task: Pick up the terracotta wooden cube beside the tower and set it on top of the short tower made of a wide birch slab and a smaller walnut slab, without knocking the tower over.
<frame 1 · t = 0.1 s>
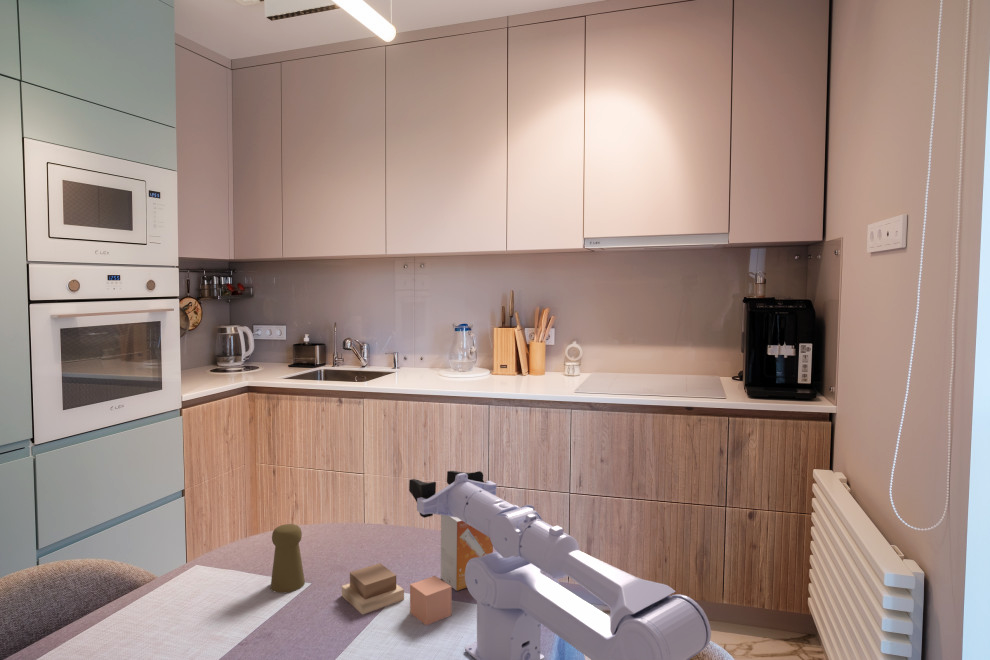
hand: (430, 480, 103), 22 cm above the table, tool horizontal, fingers open, 7 cm apart
walnut top slab: (372, 587, 106), point 2 cm above the table, touching birch base slab
birch base slab: (372, 601, 106), on the table, touching walnut top slab
small box: (466, 580, 113), on the table
olive game pawn: (287, 585, 111), on the table
terracotta cube: (430, 614, 101), on the table
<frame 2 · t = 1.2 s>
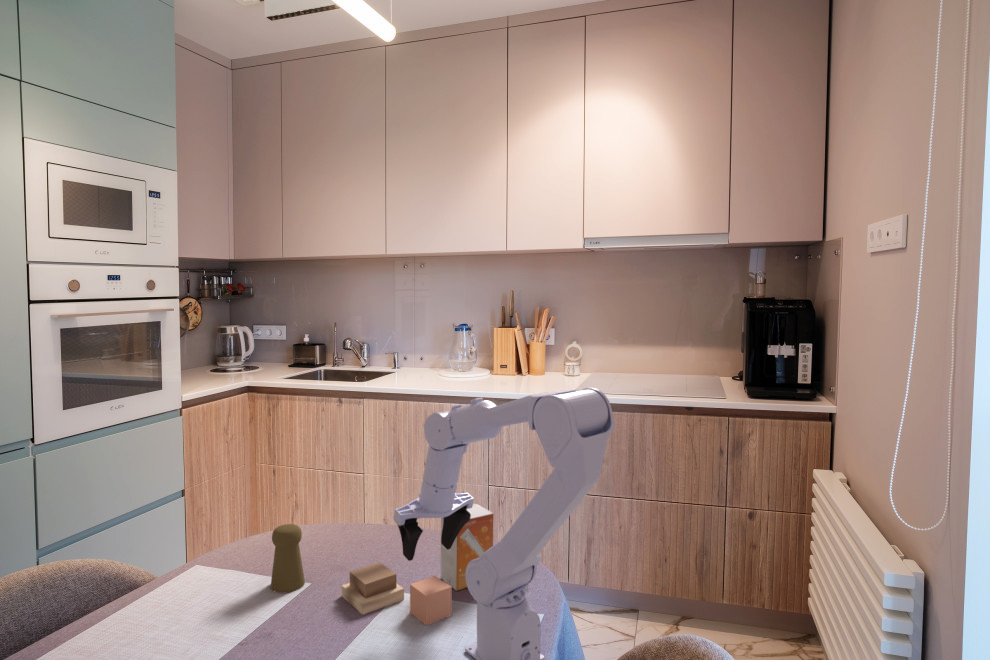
hand: (427, 551, 101), 10 cm above the table, tool pointing down, fingers open, 7 cm apart
nothing on the table moved.
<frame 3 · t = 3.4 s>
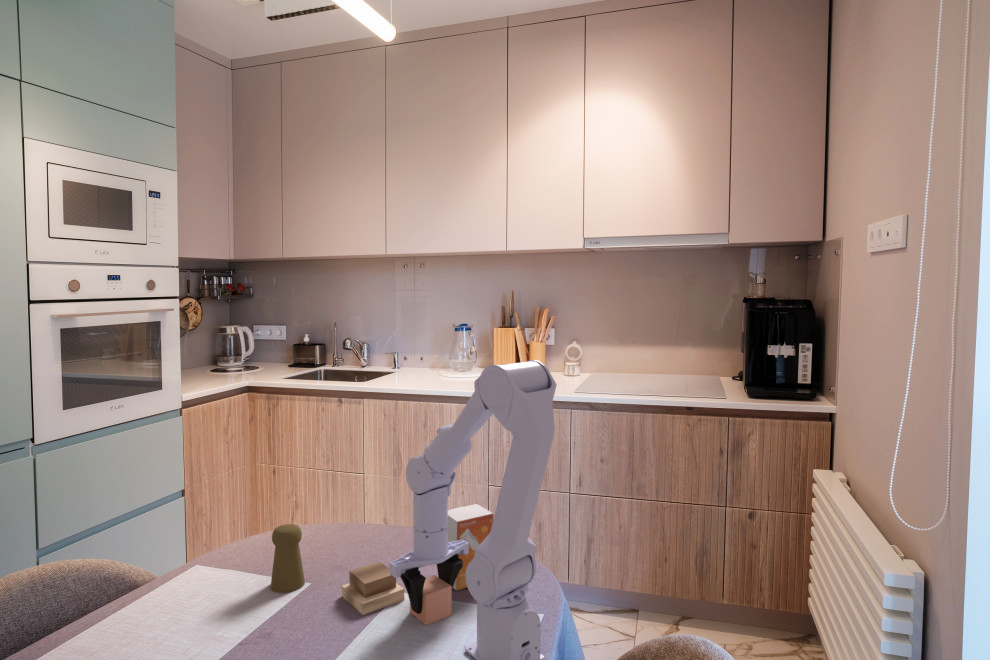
hand: (430, 605, 101), 1 cm above the table, tool pointing down, fingers closed on terracotta cube, 5 cm apart
terracotta cube: (430, 613, 101), on the table, touching gripper
everything else where it was.
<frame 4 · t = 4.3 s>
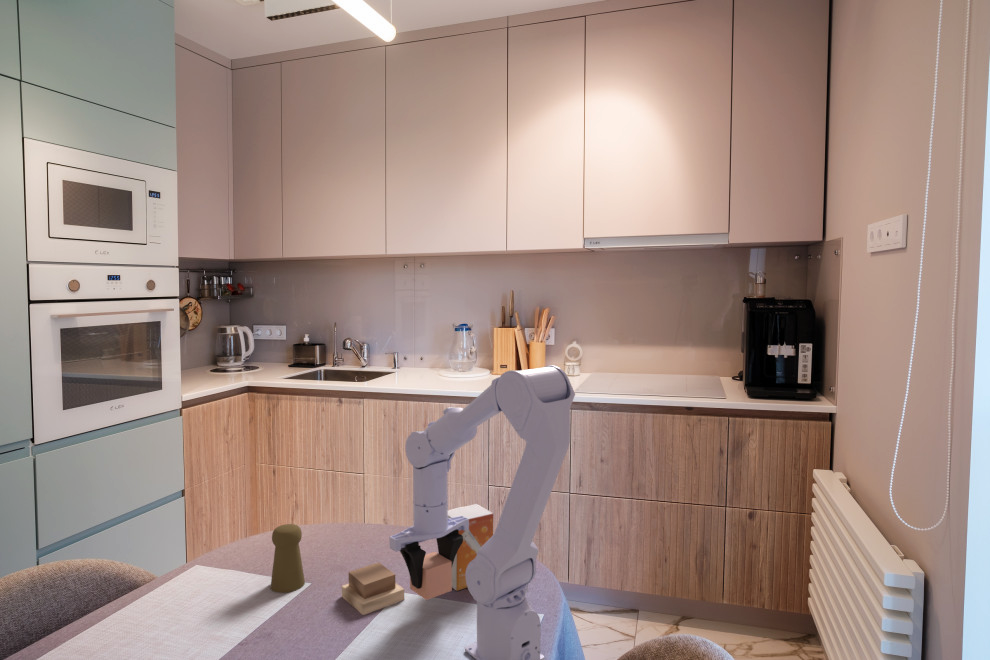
hand: (430, 581, 101), 6 cm above the table, tool pointing down, fingers closed on terracotta cube, 5 cm apart
terracotta cube: (430, 589, 101), point 4 cm above the table, touching gripper
everything else where it was.
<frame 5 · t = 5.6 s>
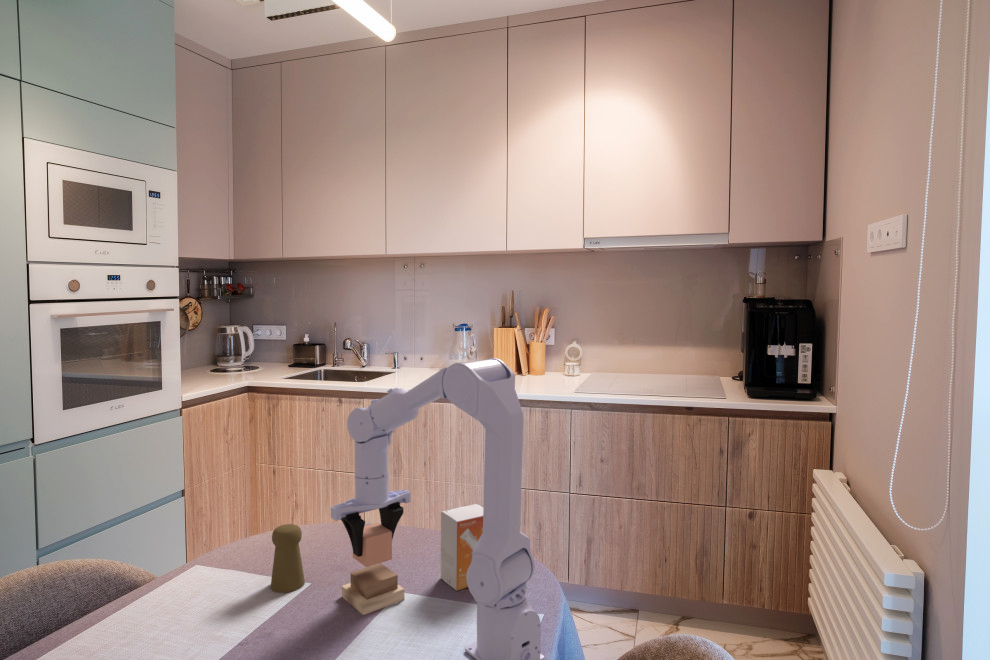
hand: (372, 550, 106), 9 cm above the table, tool pointing down, fingers closed on terracotta cube, 5 cm apart
terracotta cube: (372, 558, 106), point 7 cm above the table, touching gripper
everything else where it was.
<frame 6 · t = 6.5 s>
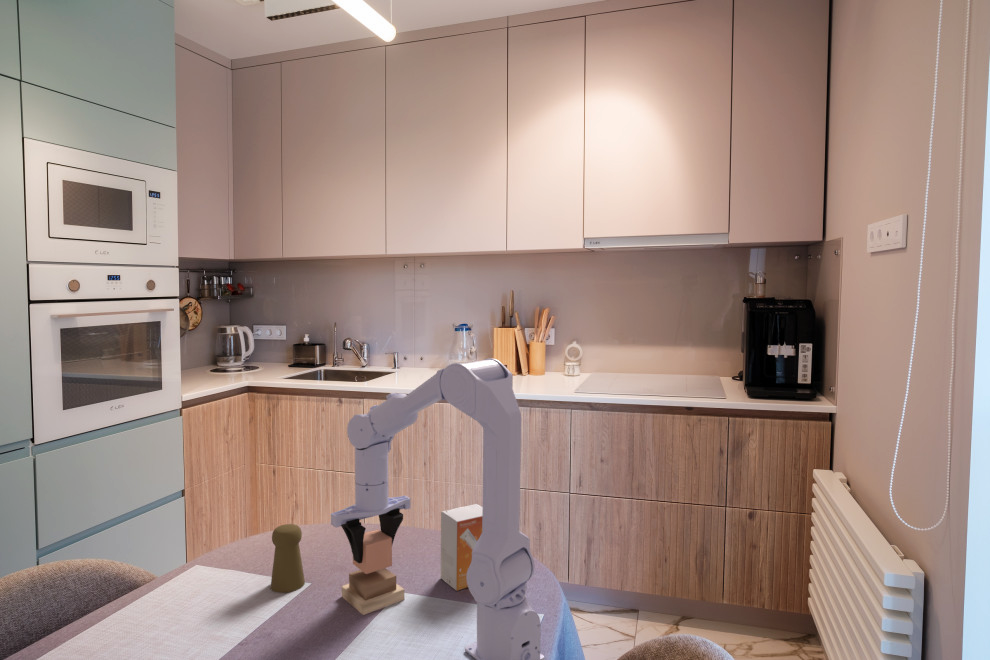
hand: (372, 556, 106), 7 cm above the table, tool pointing down, fingers closed on terracotta cube, 5 cm apart
terracotta cube: (372, 564, 106), point 6 cm above the table, touching gripper
everything else where it was.
when the fingers open (7 cm above the table, at t = 6.7 s): terracotta cube drops 2 cm, resting on walnut top slab.
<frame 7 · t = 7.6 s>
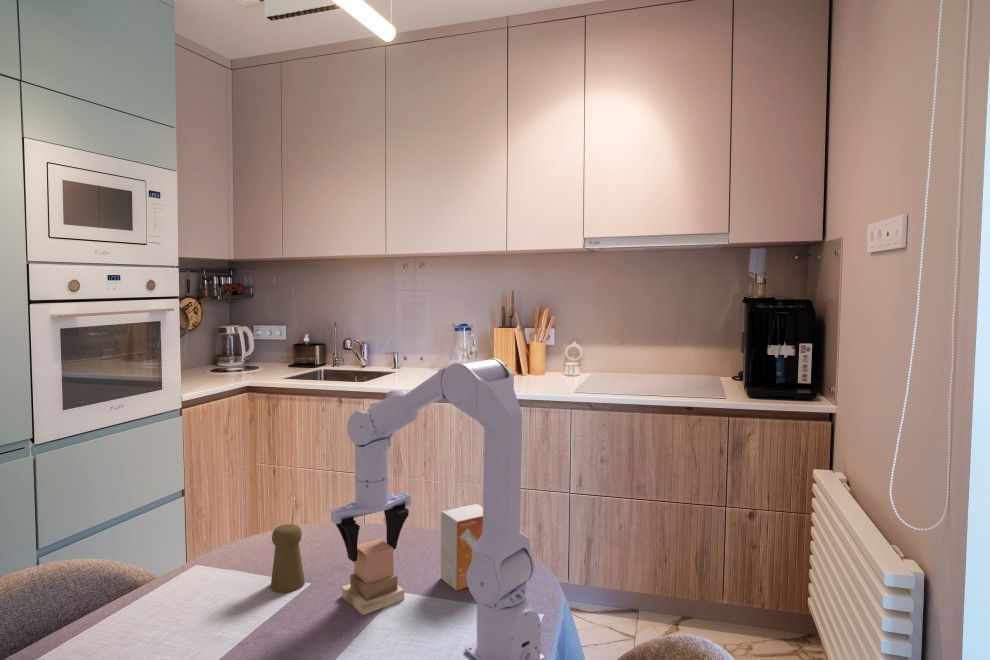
hand: (372, 553, 106), 8 cm above the table, tool pointing down, fingers open, 7 cm apart
walnut top slab: (373, 588, 106), point 2 cm above the table, touching birch base slab, terracotta cube
terracotta cube: (373, 574, 106), point 4 cm above the table, touching walnut top slab
everything else where it was.
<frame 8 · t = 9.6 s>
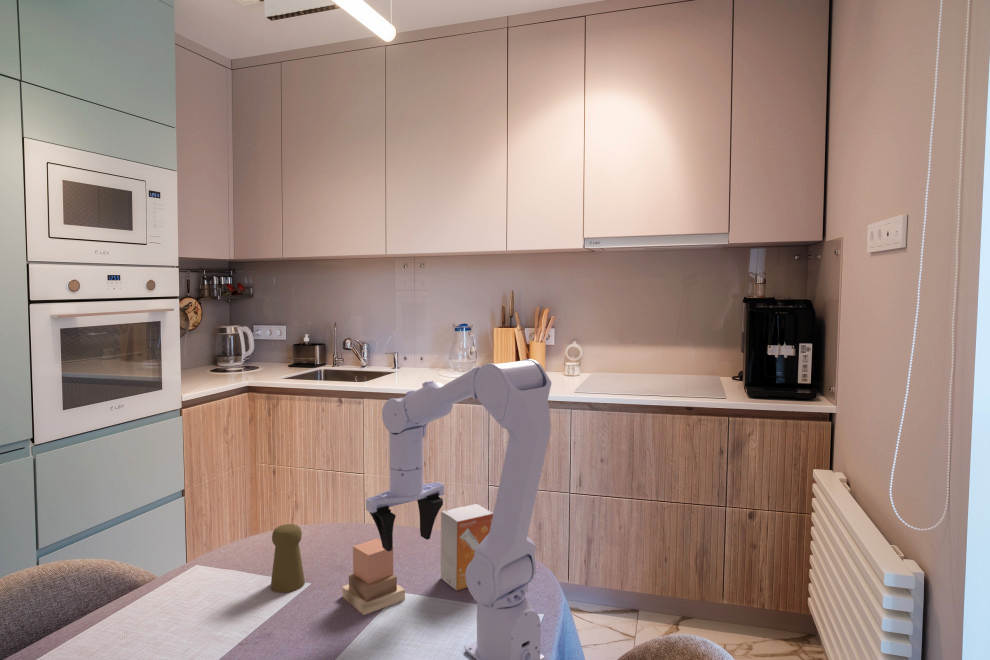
hand: (406, 543, 104), 10 cm above the table, tool pointing down, fingers open, 7 cm apart
nothing on the table moved.
at the end: terracotta cube 0.1 cm off-centre on the birch base slab, point 5.0 cm above the birch base slab's base; walnut top slab 0.7 cm off-centre on the birch base slab, point 2.5 cm above the birch base slab's base; terracotta cube tilted 0° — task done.
